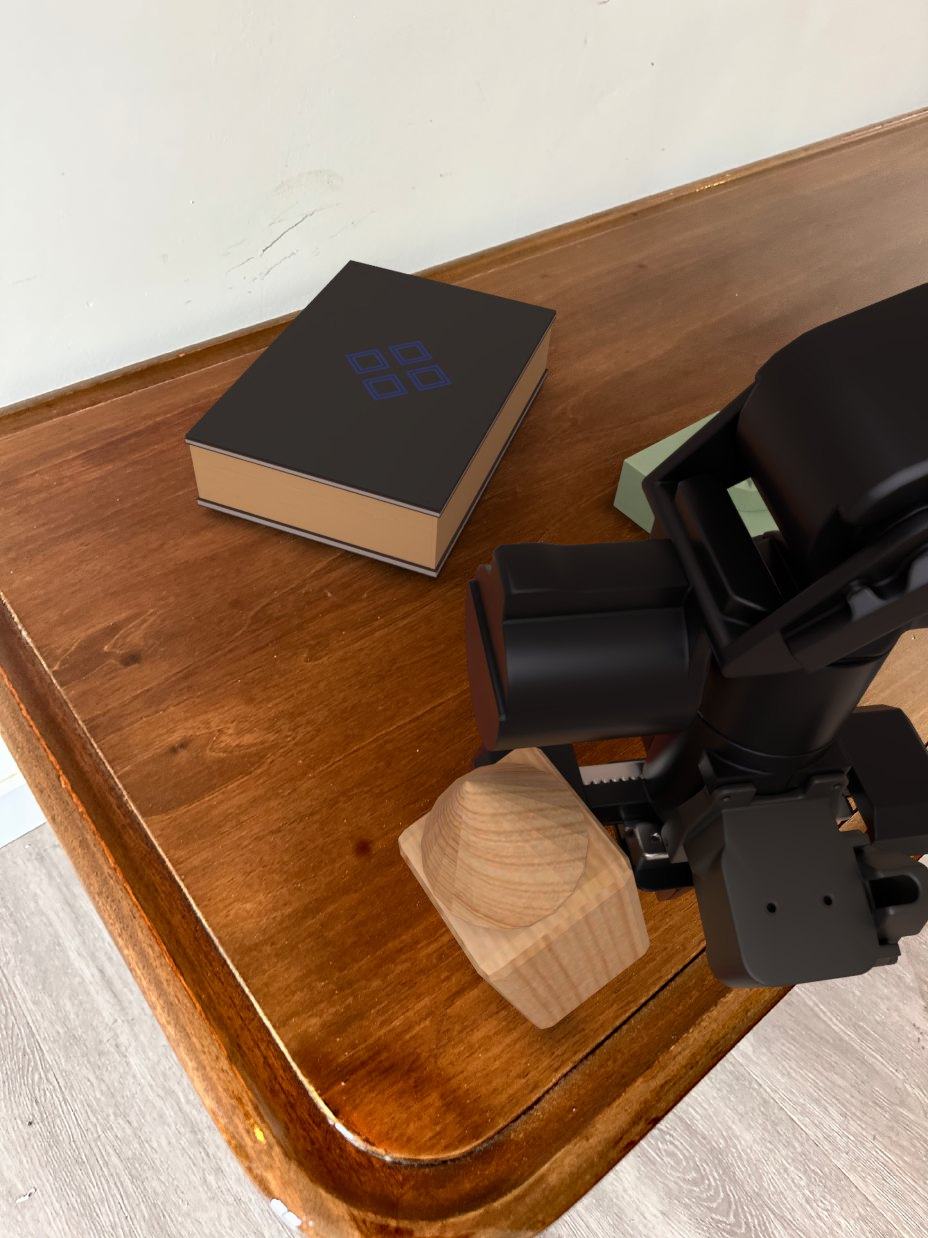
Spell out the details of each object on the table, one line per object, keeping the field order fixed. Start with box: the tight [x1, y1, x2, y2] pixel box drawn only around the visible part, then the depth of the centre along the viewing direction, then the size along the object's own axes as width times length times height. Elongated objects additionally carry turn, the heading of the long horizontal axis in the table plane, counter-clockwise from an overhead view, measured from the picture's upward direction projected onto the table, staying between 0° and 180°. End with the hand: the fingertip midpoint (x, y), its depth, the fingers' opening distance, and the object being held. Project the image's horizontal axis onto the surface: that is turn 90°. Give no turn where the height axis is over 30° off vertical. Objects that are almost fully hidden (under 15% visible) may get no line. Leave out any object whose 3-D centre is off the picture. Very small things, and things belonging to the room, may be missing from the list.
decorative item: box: [397, 747, 651, 1030], centre depth 37 cm, size 7×7×20 cm
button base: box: [613, 410, 779, 537], centre depth 65 cm, size 12×10×6 cm
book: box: [183, 259, 557, 579], centre depth 69 cm, size 17×25×7 cm
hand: (662, 891), depth 44 cm, fingers closed
